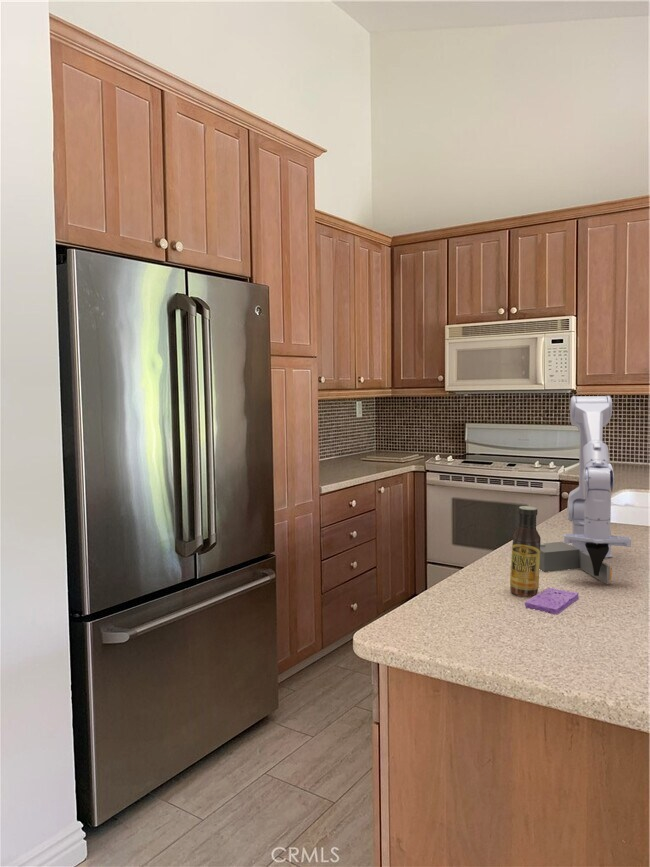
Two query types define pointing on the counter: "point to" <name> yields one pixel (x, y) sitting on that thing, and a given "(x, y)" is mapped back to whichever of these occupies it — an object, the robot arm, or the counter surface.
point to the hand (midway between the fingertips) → (596, 574)
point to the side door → (587, 566)
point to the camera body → (558, 557)
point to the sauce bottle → (525, 554)
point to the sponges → (552, 600)
